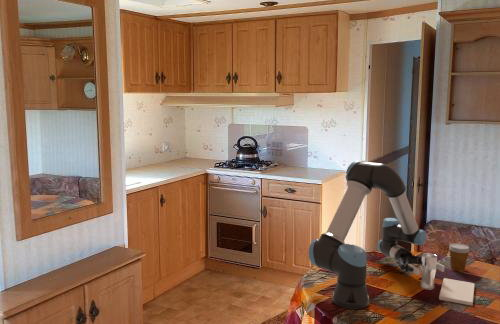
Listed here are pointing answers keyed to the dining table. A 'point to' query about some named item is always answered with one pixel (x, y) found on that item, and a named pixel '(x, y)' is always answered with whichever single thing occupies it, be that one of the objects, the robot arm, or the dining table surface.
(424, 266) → the beer glass
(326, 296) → the dining table surface
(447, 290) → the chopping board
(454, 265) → the disposable coffee cup
